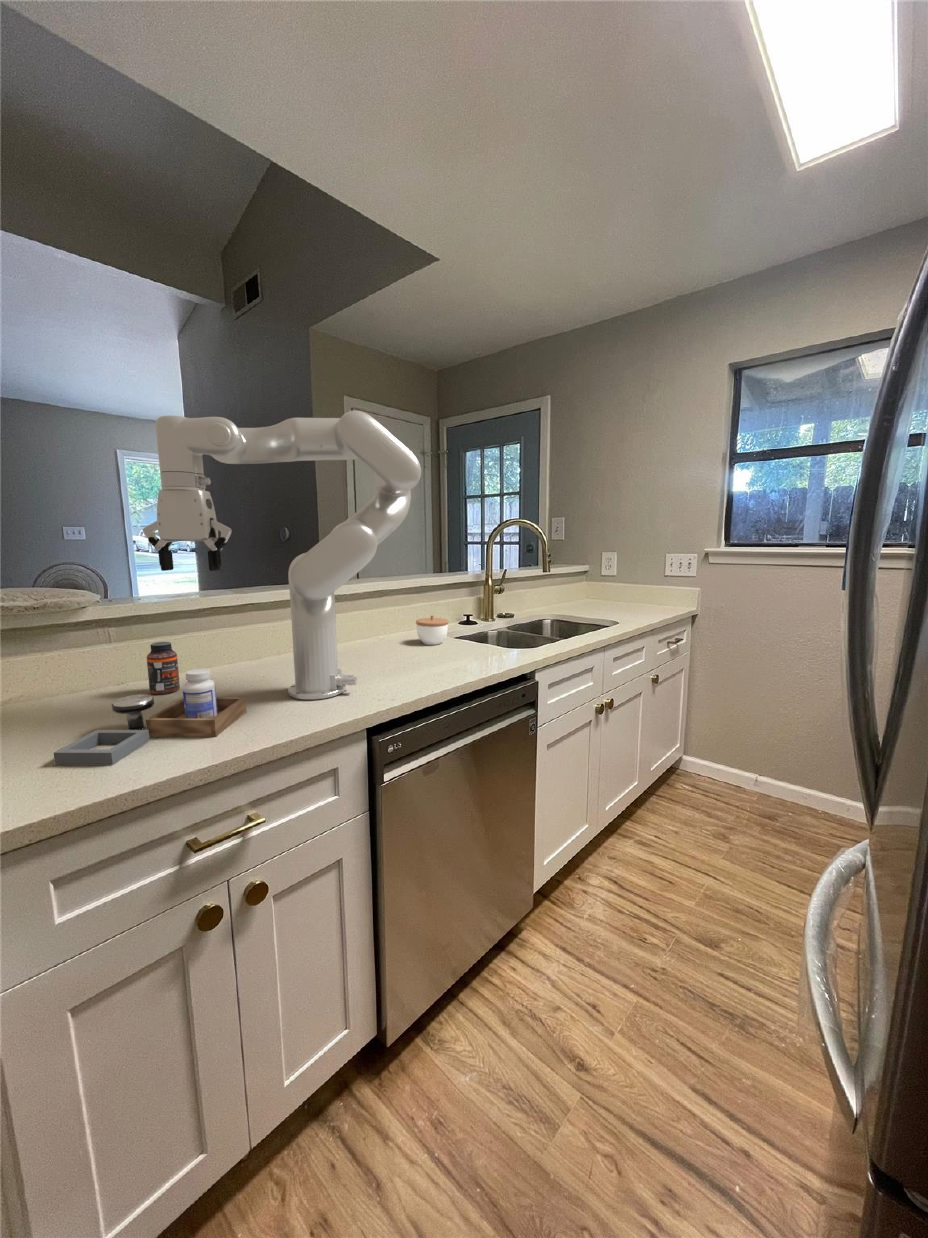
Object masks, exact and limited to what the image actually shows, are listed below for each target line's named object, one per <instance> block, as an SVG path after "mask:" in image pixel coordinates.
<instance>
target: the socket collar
mask: <svg viewBox="0 0 928 1238" xmlns="http://www.w3.org/2000/svg"><path fill="white" fill-rule="evenodd" d="M148 742H151V741H150V736H149V730H147V729H141V730H128V729H96V730H94V731H91V732H90V733H88V734H86V735H85V736H82V737H80V738H78V739H77V740H75V741H73V742H70V743H69V744H67V745H65V746H63V747H61V748H60V749H57V750H55V751H54V752H53V759H54V765H57V766H59V765H60V766H62V765H64V766H67V765H69V766H71V765H72V766H73V765H76V766H78V765H81V766H83V765H84V766H85V765H86V766H90V765H91V766H96V765H97V766H100V765H101V766H103V765H104V766H105V765H106V766H109V765H110V766H113V765H115V764H116V763H118V762H120V761H121V760H123V759H124V758H126V757H127V756H128V755H130V754H132V753H133V752H135V751H137V750H138V749H139V748H141V747H142V746H144V745H145V744H147V743H148ZM100 744H101V745H105V744H107V745H111V744H114V745H113V747H111V748H109V749H107V748H106V749H105V748H104V749H101V748H99V749H98V748H97V749H96V748H95V749H93V748H94V747H97V746H98V745H100ZM115 744H116V745H115Z"/></svg>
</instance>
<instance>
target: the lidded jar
mask: <svg viewBox="0 0 928 1238" xmlns="http://www.w3.org/2000/svg"><path fill="white" fill-rule="evenodd" d="M415 624H416V633H417V637H418V638H419V640H420V641H421V642H422V643H423V644H424V645H426V646H437V645H441V644H442V643H443V641H445V640H446V637H447V636H448V630H449V620H448V619H447V618H444V617H443V618H442V617H434V615H432V614H431V615H430V617H424V618H423V617H422V618H418V619H416V622H415Z"/></svg>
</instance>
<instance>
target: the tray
mask: <svg viewBox="0 0 928 1238" xmlns="http://www.w3.org/2000/svg"><path fill="white" fill-rule="evenodd" d="M216 703H217V715H216V716H215V717H214V718H185V708H184V698H181V699H180V700H177V701H176V702H174V703H173V704H170V705H169V706H168V707H166V708H164V709H162V710H161V711H159V712H157V713H155V714H153V715H152V716H149V717H148V718H146V719H145V725H146V730H149V737H182V738H184V737H186V738H188V737H194V738H195V737H197V738H198V737H200V738H204V737H207V738H208V737H212V738H213V737H217V736H219V735H220V734H222V733H223V732H224V731H225V730H227V729H228V727H230V726H231V725H232V724H234V723H235V722H236V721H238V720H239V719H240V718H241V717H243V716H244V715H245V714H246V713H247V704H246V703H247V702H246V697H226V696H225V697H218V696H216Z"/></svg>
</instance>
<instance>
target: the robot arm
mask: <svg viewBox="0 0 928 1238" xmlns="http://www.w3.org/2000/svg"><path fill="white" fill-rule="evenodd" d="M155 433H156V434H155V435H156V444H157V453H158V464H159V475H160V484H161V485H160V486H161V489H159V490H158V492H157V493H158V494H157V503H156V521H154V522H152V523H150V524H149V525H147V526H145V527H143V528H142V532H143V534H144V536H145V537H146V538H147V541H148V543H150V544H151V545H152V546H153V547H154V550H155V551H157V552H158V553H157V555H158V563H159V567H160V570H161V571H162V572H163V571H167V572H168V571H172V570H174V560H173V559H174V558H173V552H172V550H171V549H170V548H171V546H172V545H173V544H174V542H204V544H205V545H206V546H207V547H208V548H209V550H207V559H208V569H209V571H211V572H216V571H221V566H222V560H221V559H222V558H221V551H222V550H223V548H224V547H225V545H227V543H228V542H229V539H230V537H231V535H232V532H233V530H232V528H230V527H229V526H227V525H225V524H223V523H221V522H219V521H218V520H217V513H216V510H215V505H214V501H213V498H212V496H211V492H210V491H208V490H207V491H206V489H207V487H206V486H208V485H209V486H210V485H211V483H212V481H211V478H210V477H206V476H205V475H204V472H205V471H204V461H203V460H204V459H203V456H204V455H207V456H211V457H212V458H213V459H215V460H216V461H218V462H220V463H224V464H228V465H229V464H230V465H248V464H251V465H252V464H253V465H254V464H256V465H257V464H272V463H286V462H287V463H291V462H301V461H304V462H305V461H352V460H360V462H362V463H363V464H364V465H365V466H367V467H368V468H369V469H370V470H371V471H372V472H374V481H375V485H376V488H375V493H374V495H373V497H372V498H371V499H370V500H368V502H367V503H366V504H364V505H363V506H362V507H361V508H360V509H359V510H357V511H356V512H355V513H353V515H351V516H350V517H348V518H347V519H346V520H345V521H343V522H341V523H338V524H337V525H336V526H334V527H333V528H332V530H331V532H330V533H329V534H328V535H326V536H325V537H324V538H323V539H321V540H320V541H319V542H317V544H315V545H314V546H313V547H311V548H310V549H309V550H308V551H307V552H304V553H301V554H300V555H297V556H296V557H294V559H293V560H292V562H291V563H290V565H289V567H288V573H287V574H288V587H289V599H290V600H289V601H290V603H289V604H290V616H291V617H290V619H291V637H292V651H293V652H292V653H293V669H294V670H293V671H294V684H291V685H290V686H289V687H288V688H287V693H288V695H289V696H290V697H291V698H293V699H298V700H307V701H308V700H309V701H310V700H313V701H314V700H321V699H322V700H323V699H328V698H332V697H336V696H338V695H340V694H343V693H344V692H345V691H346V686H357V683H358V678H357V676H354V674H346V675H345V674H344V673H342V668H339V665H338V662H339V661H338V643H337V639H338V638H337V615H336V614H337V613H336V611H337V610H336V598H335V592H336V591H337V590H338V589H340V588H341V587H342V586H343V585H345V584H346V583H347V582H348V581H349V580H351V579H352V578H353V577H354V576H356V575H357V574H358V573H359V572H360V571H361V570H363V569H364V567H366V566H367V565H368V564H369V563H371V561H372V560H373V558H375V555H376V553H377V550H378V545H380V544H381V543H382V542H384V540H386V538H388V537H389V536H390V535H391V534H392V533H393V532H395V531H396V529H397V528H399V526H401V525H402V523H403V522H404V521H405V519H406V517H407V516H408V513H409V510H410V506H411V502H412V501H411V499H412V498H411V497H412V494H411V490H412V489H414V488H415V487H416V486H417V485H418V483H419V481H420V479H421V477H422V466H421V464H420V461H419V459H418V458H417V456H416V455H415V454H414V453H413V451H412V450H410V449H409V448H408V447H407V446H406V445H405V444H403V442H401V441H400V440H399V439H398V438H397V437H395V436H394V435H393V434H392V433H391V432H390V431H389V430H388V429H387V428H386V427H384V426H383V425H382V424H381V423H380V422H379V421H378V420H376V419H375V418H374V417H373V416H371V415H370V414H368V413H366V412H364V411H362V410H349V411H348V412H345V413H344V414H343V415H341V417H291V418H286V419H285V420H283V421H281V422H279V423H276V424H273V425H270V426H268V425H267V426H262V427H238V426H237V425H236V424H235V423H234V422H233V421H232V420H230V419H228V418H226V417H221V416H205V417H186V416H180V415H163V416H159V417H157V418H156V420H155ZM156 532H157V533H158V536H157V535H156ZM219 532H220V536H219Z"/></svg>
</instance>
